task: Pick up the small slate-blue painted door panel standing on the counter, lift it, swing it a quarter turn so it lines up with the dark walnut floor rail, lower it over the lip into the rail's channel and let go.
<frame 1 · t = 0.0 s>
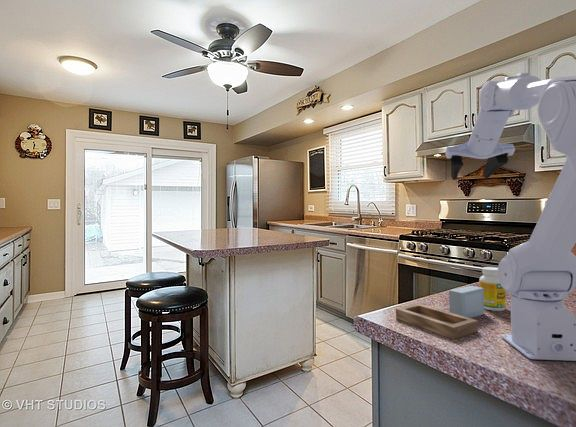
hand: (469, 176, 84), 32 cm above the countertop, tool tilted 50°, fingers open, 7 cm apart
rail: (434, 324, 69), on the countertop
door panel: (467, 315, 74), on the countertop
supplement bottle: (492, 308, 79), on the countertop
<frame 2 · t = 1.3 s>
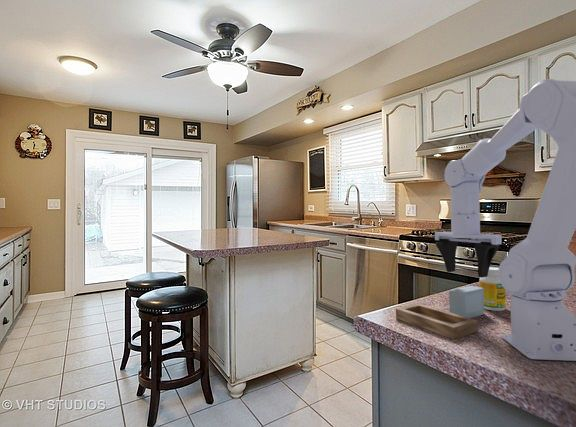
hand: (466, 274, 74), 9 cm above the countertop, tool pointing down, fingers open, 7 cm apart
nothing on the countertop moved.
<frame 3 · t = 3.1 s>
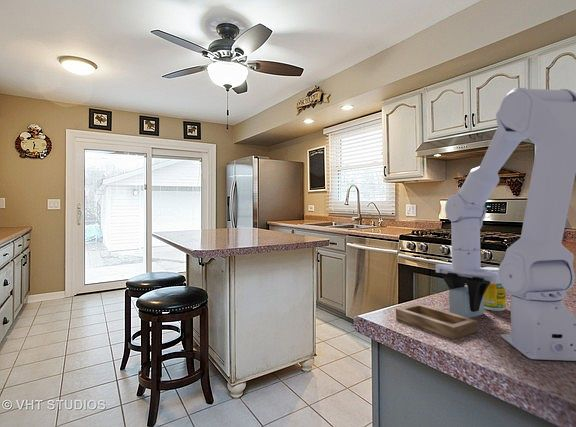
hand: (466, 308, 74), 1 cm above the countertop, tool pointing down, fingers closed on door panel, 3 cm apart
door panel: (467, 315, 74), on the countertop, touching gripper
everything else where it was.
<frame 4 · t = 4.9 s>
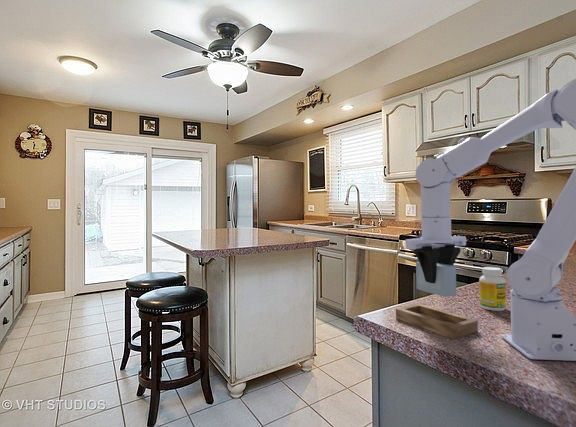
hand: (437, 281, 69), 9 cm above the countertop, tool pointing down, fingers closed on door panel, 3 cm apart
door panel: (435, 292, 70), point 7 cm above the countertop, touching gripper
everything else where it was.
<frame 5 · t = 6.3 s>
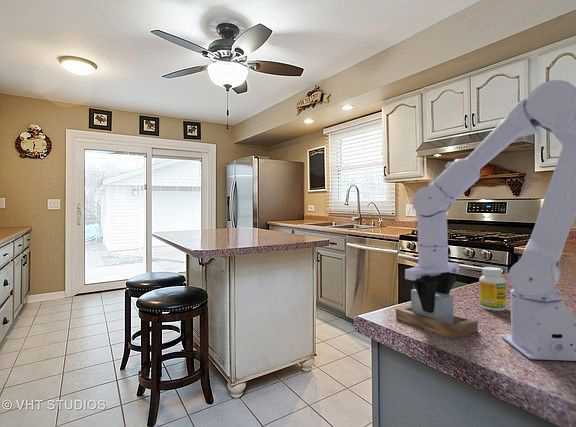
hand: (433, 310, 69), 3 cm above the countertop, tool pointing down, fingers closed on door panel, 3 cm apart
door panel: (431, 320, 69), point 1 cm above the countertop, touching gripper, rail
everything else where it was.
when the fingers open (3 cm above the countertop, at t = 6.8 s): door panel stays where it is, resting on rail.
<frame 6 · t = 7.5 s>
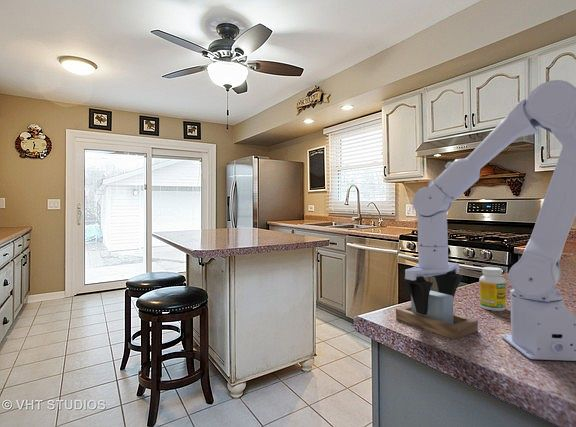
hand: (434, 310, 69), 3 cm above the countertop, tool pointing down, fingers open, 7 cm apart
door panel: (431, 320, 69), point 1 cm above the countertop, touching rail
everything else where it was.
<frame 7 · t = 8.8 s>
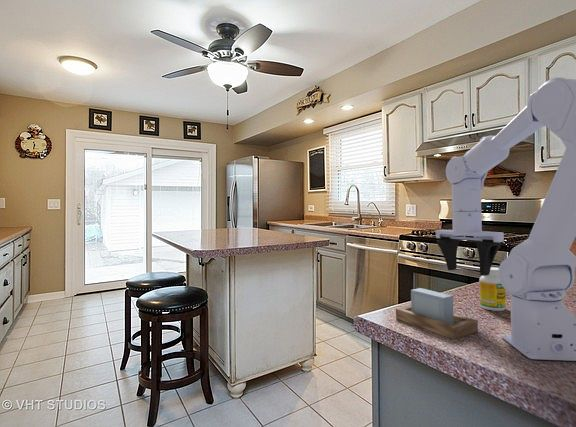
hand: (467, 272, 73), 10 cm above the countertop, tool pointing down, fingers open, 7 cm apart
nothing on the countertop moved.
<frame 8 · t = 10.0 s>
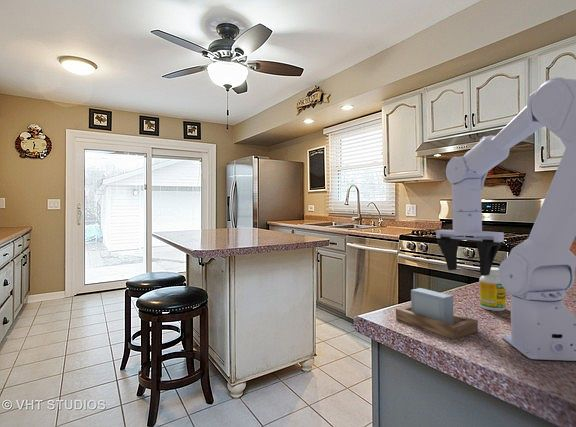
hand: (467, 272, 73), 10 cm above the countertop, tool pointing down, fingers open, 7 cm apart
nothing on the countertop moved.
at the end: door panel 0.6 cm from the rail (horizontally); door panel point 0.6 cm above the countertop; door panel tilted 0° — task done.
